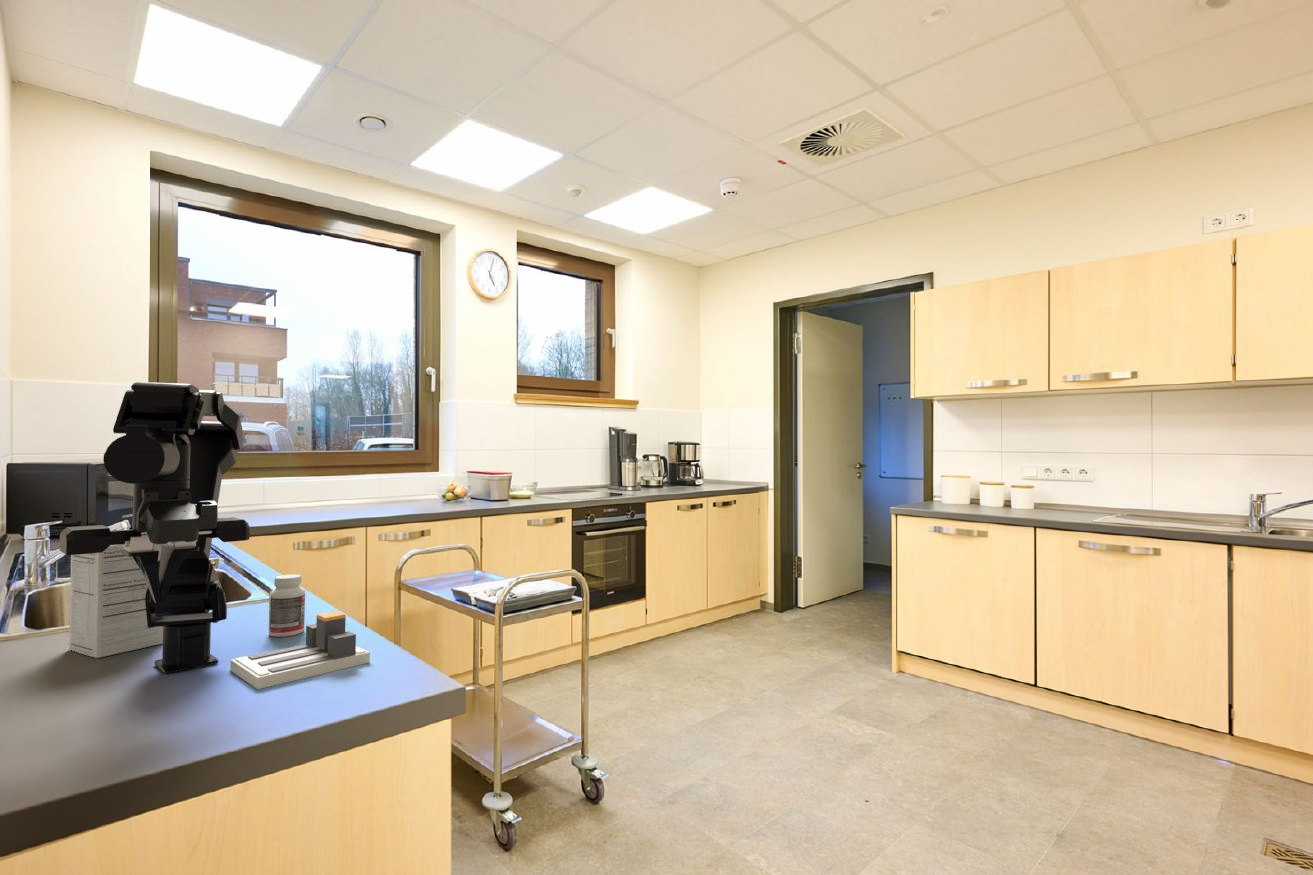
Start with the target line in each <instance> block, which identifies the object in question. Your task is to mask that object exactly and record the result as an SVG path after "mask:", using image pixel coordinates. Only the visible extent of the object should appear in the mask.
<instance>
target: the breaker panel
mask: <svg viewBox="0 0 1313 875" xmlns="http://www.w3.org/2000/svg"><path fill="white" fill-rule="evenodd" d="M356 639H357V634H356V633H353V632H351V631H349V630H348V631H345V632H343V633H338V634H333V635H328V649H327V650H323V649H321V648H319V647H317V646H316V623H312V624H306V625H305V644H300V645H296V646H291V647H287V648H281V649H277V650H272V651H266V652H261V653H258V654H257V653H256V654H251V655H248V656H246V655H245V656H240V657H236V658H232V659H230V670H229V671H231V672H232V673H234V674H235V675H236V676H238V677H239V678H241V679H242V680H244V681H245V682H246V683H247V684H249V685H251V686H252V687H253V688H254V689H257V690H259V689H264V688H269V687H271V686H277V685H281V684H285V683H290V682H292V681H293V682H294V681H298V680H302V679H305V678H311V677H315V676H318V675H323V674H327V673H331V672H335V671H340V670H343V669H348V668H352V667H356V666H361V665H364V664H368V663H370V662H371V657H370V656H371V652H370V651H368V650H366V649H364V648H361V647H359V646H357V640H356Z"/></svg>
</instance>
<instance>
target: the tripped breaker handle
mask: <svg viewBox="0 0 1313 875" xmlns="http://www.w3.org/2000/svg"><path fill="white" fill-rule="evenodd" d="M346 616H347V614H345V613H344V612H341V611H338V610H336V611H329V612H324V613H323V612H322V613H319V614H316V623H315V624H316V646H317V647H319V648H321V649H323V650H327V649H328V635H333V634H338V633H343V632H346Z"/></svg>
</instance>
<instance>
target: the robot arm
mask: <svg viewBox="0 0 1313 875" xmlns="http://www.w3.org/2000/svg"><path fill="white" fill-rule="evenodd" d="M130 388H131V389H129V390H126V391H125V393H124V394H123V397H122V401H121V403H120V406H119V407H120V408H119V410H118V413H117V416H116V419H115V423H114V425H113V428H112V429H113V434H123V435H121V436H120V437H118V438H116V439H115V440H113V441H112V442H110V444H109V445H108V446H107V448H106V450H105V452H104V454H103V466H104V468H105V470H106V471H107V473H108V474H109V475H110V476H111V477H112V478H114V479H115V480H116V481H120V482H121V483H125V484H131V485H132V484H133V493H132V495H133V501H132V503H133V504H132V521H131V522H132V526H131V527H132V529H131V528H130V529H117V530H116V529H114V530H111V528H110V527H108V526H105V525H104V524H101V525H100V524H98V525H81V526H67V527H66V528H64V529H63V530H61V532H60V535H59V551H60V552H61V553H62V554H64V555H65V556H71V555H78V554H90V553H102V552H103V551H104V550H106V549H107V548H108V547H109V546H110V545H122V546H124V548H121V549H120V553H122V554H124V555H126V556H128V557H133V559H134V560H135V562H136V563H137V565H138V567H139V568H140V570H141V572H142V574H143V576H144V579H145V581H146V584H147V586H148V588H147V591H146V596H145V606H146V615H147V624H148V628H153V627H160V626H163V644H162V655H161V656H162V658H161V659H156V660H154V662H153V663H154V665H155V666H156V667H157V668H158V669H159V670H160V671H161V672H162V673H163V674H164V673H165V674H171V673H174V672H181V671H184V670H185V671H186V670H189V669H194V668H201V667H205V666H209V665H215V664H218V663H219V658H217V657H216V656H214V655H213V654H211V636H212V634H211V633H212V631H211V629H212V628H211V627H212V625H211V624H217V623H218V622H220V621H224V620H227V619H228V606H227V600H226V593H225V589H223V587H222V585H221V584H222V583H221V581H220V580H219V575H218V572H217V571H216V569H215V567H214V566H213V564H212V561H211V560H210V554H211V549H212V548H211V547H212V541H213V539H219V541H221V542H222V543H230V542H244V541H248V540H250V529H251V528H250V525H249V523H248V521H247V520H245V519H242V518H239V517H233V516H232V517H220V518H219V517H218V514H219V512H218V505H219V499H220V493H221V487H222V480H223V476H224V475H225V474H226V473H227V472H228V471H229V470H230V469H231V468H232V467H233V466H234V465H235V464H236V463H237V460H238V455H239V451H242V450H243V446H244V431H243V426H242V422H241V416H240V415H239V414H238V413H237V412H235V411H234V410H233V409H232V408H231V407H230V406H228V405H227V404H226V403H225V400H224V395H223V393H222V392H220V391H218V390H214V389H213V390H212V389H211V390H210V389H209V390H208V389H199V388H198V387H197V386H195V385H194V384H192V383H175V382H173V383H171V382H152V381H151V382H146V381H145V382H144V381H135V382H134V383H132V385H131V386H130ZM204 417H216V420H217V421H206V420H205V421H203V419H204ZM124 434H125V435H124ZM154 544H165V545H162V547H161V557H160V560H159V561H158V556H159V551H158V550H156V549H153V547H154Z"/></svg>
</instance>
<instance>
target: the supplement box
mask: <svg viewBox="0 0 1313 875" xmlns="http://www.w3.org/2000/svg"><path fill="white" fill-rule="evenodd" d="M162 545H165V544H154V547H153V549H156V550H158V551H159V556H158V561H159V560H160V557H161V547H162ZM121 548H124V546H122V545H110V546H109V547H108V548H107V549H106V550H104V551H103V552H102V553H90V554H78V555H70V596H69V597H70V598H69V619H68V620H69V622H68V623H69V627H68V628H69V630H68V650H69V651H71V650H72V652H74V651H75V652H76V653H78V654H82V655H85V656H89V657H91V658H95V659H99V658H103V657H107V656H108V657H109V656H112V655H117V654H121V653H126V652H130V651H135V650H139V649H143V648H148V647H149V648H150V647H153V646H157V645H163V626H160V627H153V628H148V624H147V615H146V606H145V596H146V591H147V588H148V586H147V584H146V581H145V579H144V576H143V574H142V572H141V570H140V568H139V567H138V565H137V563H136V562H135V560H134V559H133V557H128V556H126V555H124V554H122V553H120V549H121Z"/></svg>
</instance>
